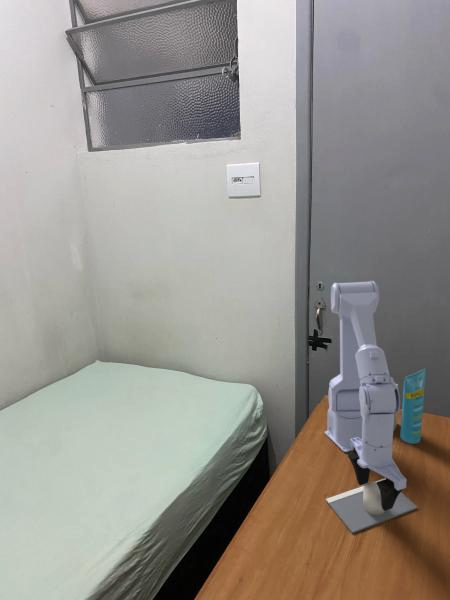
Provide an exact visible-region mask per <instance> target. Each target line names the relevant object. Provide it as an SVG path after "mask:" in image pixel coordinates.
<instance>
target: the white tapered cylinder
mask: <svg viewBox="0 0 450 600" xmlns="http://www.w3.org/2000/svg"><path fill="white" fill-rule="evenodd" d="M363 486H364V488H363V508H364V509H365V511H367V512H368V513H370V514H372V515H381V514H383V513H384V512H385V511H384V510H383V509H382V506H381V493H380V490H379V487H378V485H377V482H376V481H368V483H366V484H363Z"/></svg>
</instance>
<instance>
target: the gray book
mask: <svg viewBox="0 0 450 600" xmlns="http://www.w3.org/2000/svg"><path fill="white" fill-rule="evenodd" d="M384 479H385V480H386V477H384V478H381V479H379V480H376V481H375V482H379V481H381V480H384ZM363 488H364V485H360V486H359V487H356V488H353V489H350V490H347V491H344V492H341V493H339V494H335V495H332V496H330V497H327V498H325V502H326V503H327V504H328V506H329V507H330V508H331V509H332V510H333V512H334V513H335V514H336V516H337V517H338V518H339V519H340V520H341V522H342V523H343V525H345V527H346V528H347V529H348V531H349V532H350V533H351V534H356V533H358V532H360V531H362V530H363V531H364V530H365V529H368V528H371V527H375V526H376V525H378V524H381V523H384V522H386V521H389V520H392V519H394V518H397V517H399V516H402V515H404V514H408V513H410V512H412V511H414V510H418V506H417V505H416V504H415V503H414V502H413V501H411V499H410V498H408V497H407V496H406V495H405V494H404V493H403V492H402V491H401V492H400V494H399V495H398V497H397V499H396V501H395V503H394V506H393V508H392V509H389V510H386V511H385V512H384V513H383V514H381V515H372V514H370V513H368V512H367V511H365V509H364V508H363Z"/></svg>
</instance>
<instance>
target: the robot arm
mask: <svg viewBox="0 0 450 600" xmlns="http://www.w3.org/2000/svg"><path fill="white" fill-rule="evenodd" d="M379 303H380V289H379V286H378V284H377V283H376V282H375V281H374V280H369V281H358V282H334V283H333V284H332V285H331V288H330V310H331V313H332V314H337V315H338V318H339V369H340V371H339V372H340V373H339V374H337V375H336V376H335V377H333V378H332V379H330V380H329V384H328V386H329V387H328V392H327V395H328V397H327V398H328V399H327V400H328V405H329V408H328V409H327V413H326V414H327V415H326V416H327V418H326V419H327V420H326V421H327V429H326V430H325V431H324V434H325V435H326V436H327V437H328V439H330V440H331V441H332V443H334V444H335V445H336V446H337V447H338V448H339V449H340V450H341V451H342V452H344V453H348V454H347V457H348V459H349V460H350V462H351V465H352V466H353V469H354V473H355V477H356V480H357V484H358V485H359V486H364V485H365V484H366V483H368V482H370V481H369V480H370V473H371V471H373V472H375V473H377V474H378V475H380V476H382V477H384V478H386V480H385V479H384V478H383V479H384V480H381V479H380V480H381V481H379V482H377V485H378V487H379V490H380V493H381V506H382V509H383V510H384V511H386V510H389V509H392V508H393V506H394V503H395V501H396V499H397V497H398V495H399V494H400V492H402V491H403V490H404V489H406V488H407V486H408V480H407V478H406V477H405V476H404V475H403V474H402V473H401V471H400V469H399V467H398V466H397V464H396V462H395V461H394V458H393V443H394V442H393V437H394V431H393V424H394V412H397V413H399V411H400V409H401V395H400V392H399V391H400V390H399V387H398V388H397V385H396V384H397V383H396V382H395V381H394V380H395V379H394V378H393V377H392V376H390V371H389V366H388V361H387V358H386V354H385V351H384V350H383V348H381V347H379V346H378V345H377V344H378V343H377V337H376V336H377V335H376V330H375V329H376V328H375V320H374V314H375V312H376V311H377V308H378V304H379Z"/></svg>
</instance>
